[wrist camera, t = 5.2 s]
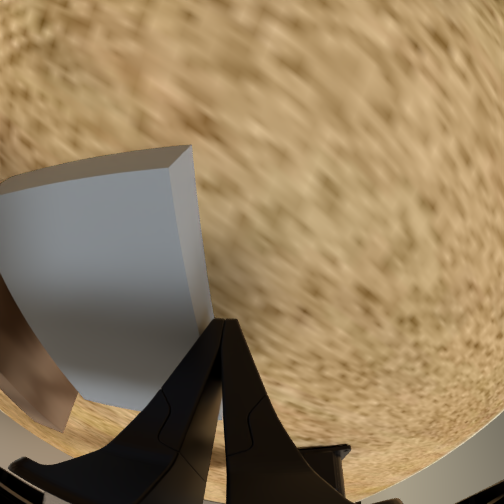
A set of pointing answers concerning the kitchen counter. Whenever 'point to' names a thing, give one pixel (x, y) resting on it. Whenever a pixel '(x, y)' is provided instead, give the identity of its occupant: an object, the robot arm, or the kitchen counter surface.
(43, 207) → the slate plate
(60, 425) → the walnut bar
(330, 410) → the kitchen counter surface
